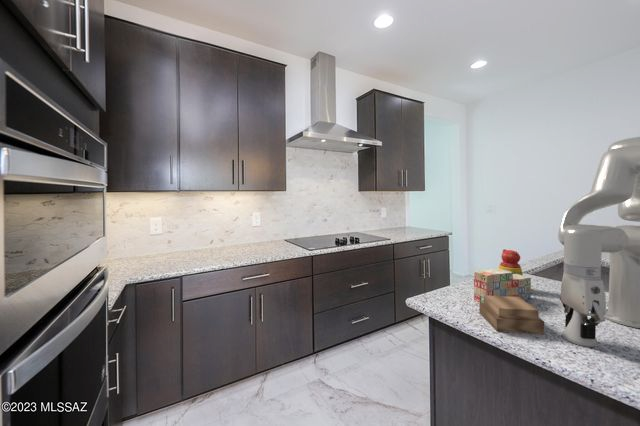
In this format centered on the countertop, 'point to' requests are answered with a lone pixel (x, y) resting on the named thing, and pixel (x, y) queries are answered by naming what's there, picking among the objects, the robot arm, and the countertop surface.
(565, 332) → the flask
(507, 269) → the stacking bear
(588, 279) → the robot arm
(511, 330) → the stepped wooden pedestal
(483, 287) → the stack of blocks
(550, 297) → the countertop surface
